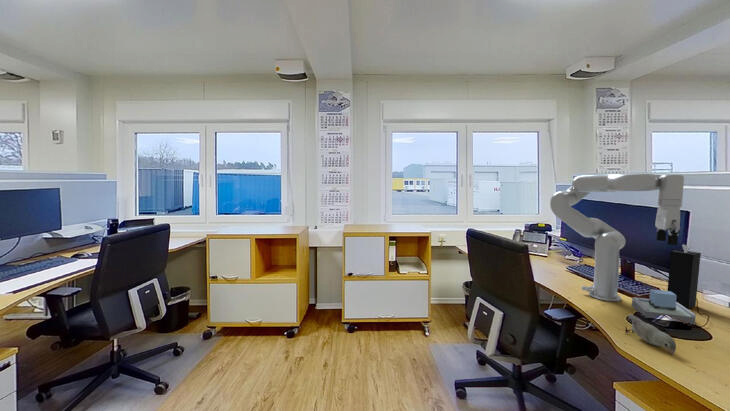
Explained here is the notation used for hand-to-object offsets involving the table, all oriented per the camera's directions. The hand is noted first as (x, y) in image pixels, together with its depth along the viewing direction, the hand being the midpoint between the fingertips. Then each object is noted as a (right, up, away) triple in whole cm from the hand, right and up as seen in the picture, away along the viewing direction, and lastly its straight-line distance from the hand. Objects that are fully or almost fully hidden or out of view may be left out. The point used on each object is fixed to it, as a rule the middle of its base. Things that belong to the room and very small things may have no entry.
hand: (666, 242), depth 142 cm
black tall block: (+15, -30, +9) cm, 35 cm away
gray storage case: (-4, -27, -2) cm, 28 cm away
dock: (-4, -31, -2) cm, 31 cm away
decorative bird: (-30, -33, -27) cm, 52 cm away
